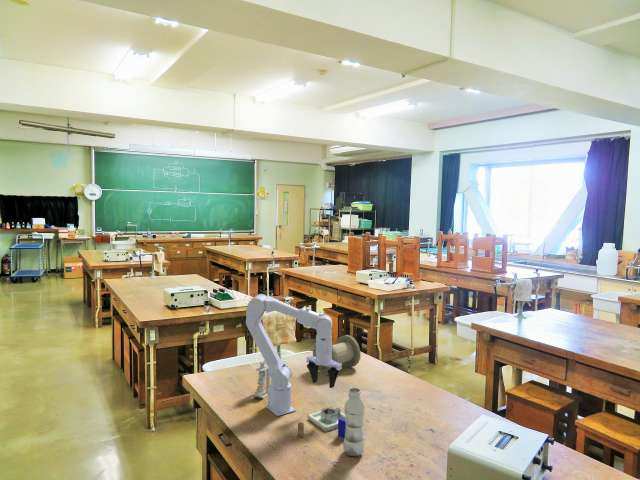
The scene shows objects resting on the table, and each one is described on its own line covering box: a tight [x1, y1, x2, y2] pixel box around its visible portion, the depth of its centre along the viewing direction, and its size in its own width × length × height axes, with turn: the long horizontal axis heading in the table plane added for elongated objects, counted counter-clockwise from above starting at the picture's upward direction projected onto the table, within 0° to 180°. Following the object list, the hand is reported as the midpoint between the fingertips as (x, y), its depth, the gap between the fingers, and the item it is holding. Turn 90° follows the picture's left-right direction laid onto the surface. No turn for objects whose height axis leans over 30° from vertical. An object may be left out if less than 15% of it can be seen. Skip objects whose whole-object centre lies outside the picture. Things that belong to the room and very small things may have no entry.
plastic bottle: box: [343, 387, 366, 457], centre depth 136 cm, size 6×7×20 cm
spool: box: [312, 334, 361, 376], centre depth 207 cm, size 16×15×15 cm
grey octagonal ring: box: [320, 407, 341, 424], centre depth 157 cm, size 6×7×3 cm
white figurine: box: [251, 360, 271, 399], centre depth 177 cm, size 4×10×15 cm, turn 163°
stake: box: [297, 422, 305, 438], centre depth 147 cm, size 2×2×4 cm
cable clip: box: [337, 417, 346, 439], centre depth 151 cm, size 12×4×6 cm, turn 146°
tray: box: [307, 407, 345, 432], centre depth 157 cm, size 11×11×2 cm
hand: (323, 384), depth 163 cm, fingers open, 7 cm apart
